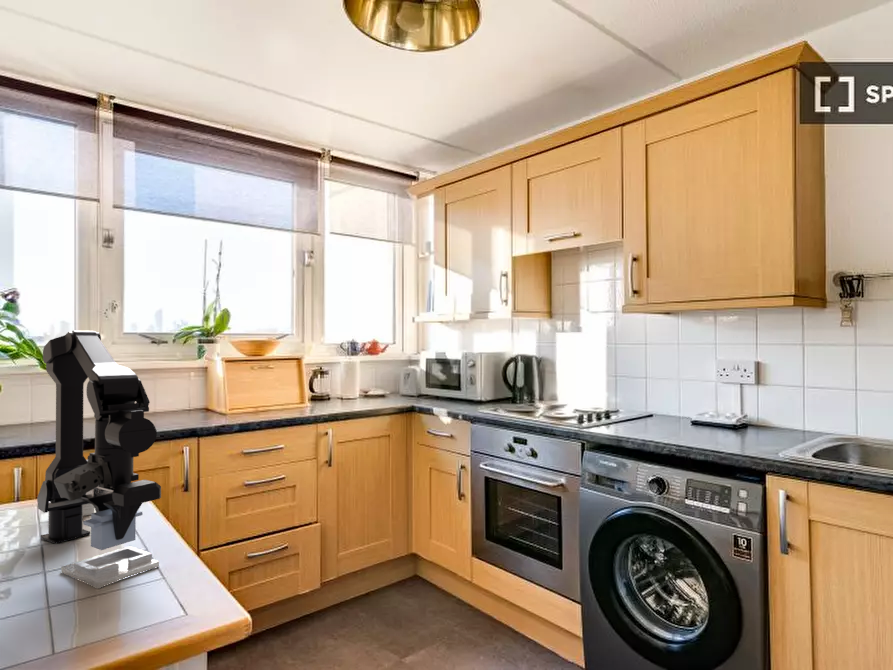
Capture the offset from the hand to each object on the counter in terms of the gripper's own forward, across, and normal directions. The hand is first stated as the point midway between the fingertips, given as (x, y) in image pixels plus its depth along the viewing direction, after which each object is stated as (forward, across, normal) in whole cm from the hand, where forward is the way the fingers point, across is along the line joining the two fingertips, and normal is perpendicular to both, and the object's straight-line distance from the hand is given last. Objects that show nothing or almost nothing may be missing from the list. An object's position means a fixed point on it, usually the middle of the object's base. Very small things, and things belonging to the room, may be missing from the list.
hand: (113, 537), depth 94 cm
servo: (+1, 0, 0) cm, 1 cm away
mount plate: (+6, -1, 0) cm, 6 cm away
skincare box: (+6, -40, +13) cm, 42 cm away
